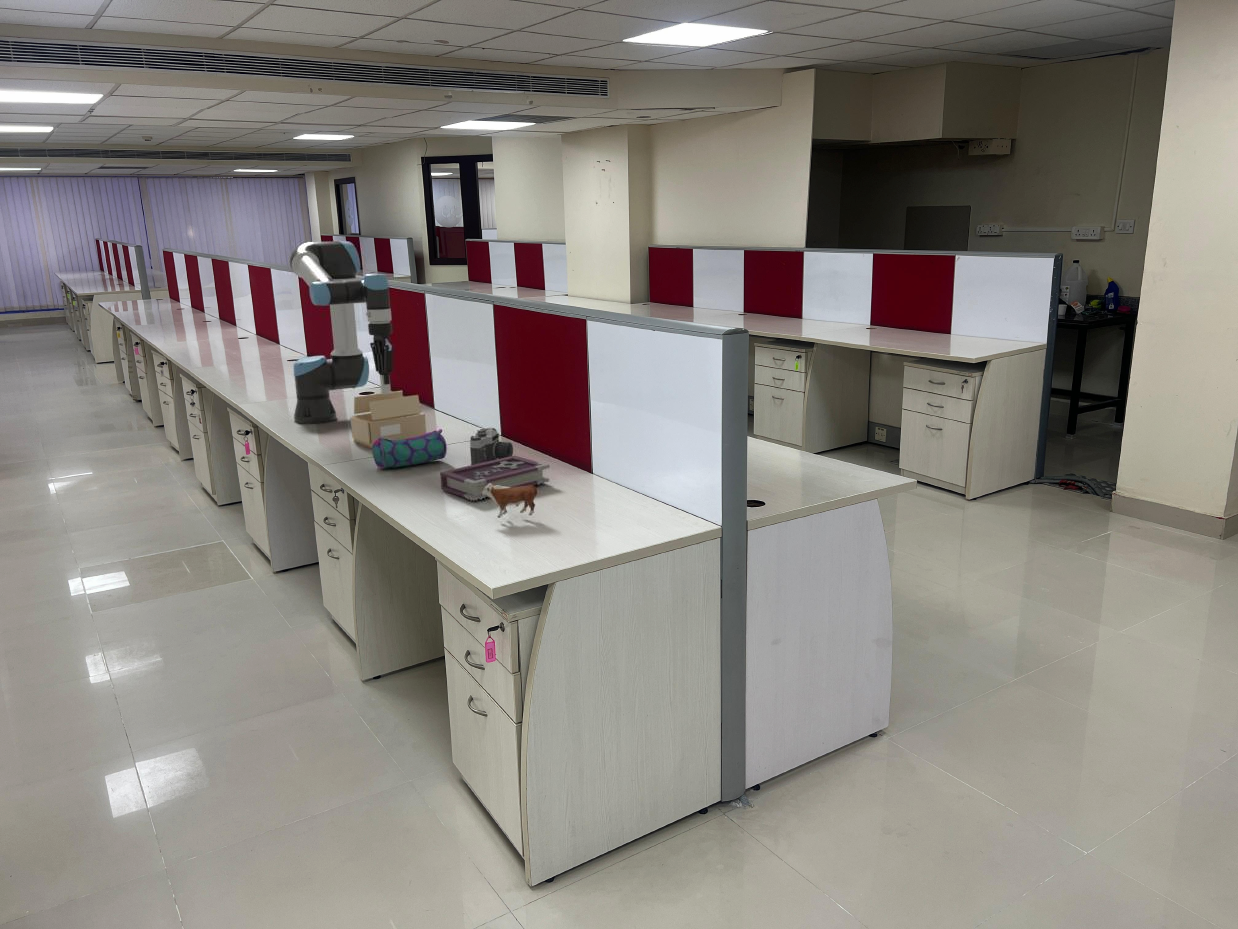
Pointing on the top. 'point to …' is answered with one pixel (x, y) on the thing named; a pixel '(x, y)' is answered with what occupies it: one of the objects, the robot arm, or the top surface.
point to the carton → (386, 428)
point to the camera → (488, 446)
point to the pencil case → (409, 450)
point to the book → (493, 476)
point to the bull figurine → (511, 496)
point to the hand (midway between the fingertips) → (386, 393)
